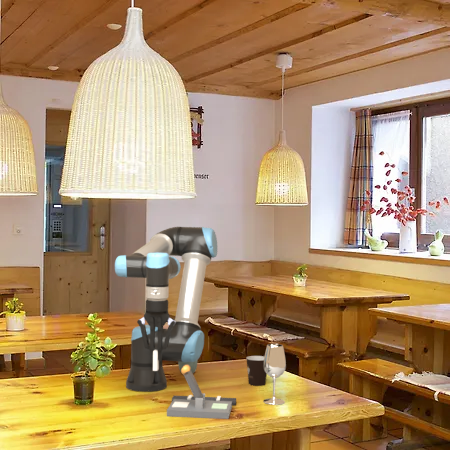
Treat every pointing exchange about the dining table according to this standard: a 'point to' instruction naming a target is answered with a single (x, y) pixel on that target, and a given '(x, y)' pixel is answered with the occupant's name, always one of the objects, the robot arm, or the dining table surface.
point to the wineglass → (274, 368)
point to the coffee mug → (256, 370)
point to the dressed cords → (206, 398)
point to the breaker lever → (191, 381)
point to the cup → (191, 364)
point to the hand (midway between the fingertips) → (155, 369)
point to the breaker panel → (200, 408)
